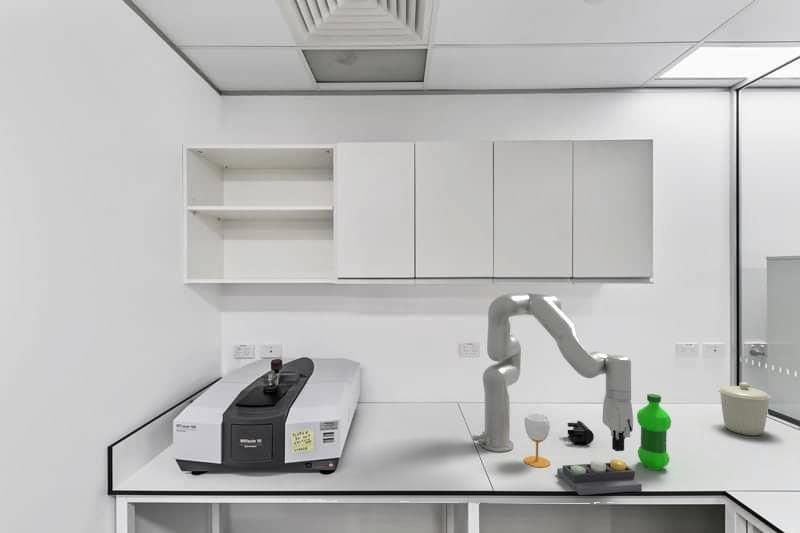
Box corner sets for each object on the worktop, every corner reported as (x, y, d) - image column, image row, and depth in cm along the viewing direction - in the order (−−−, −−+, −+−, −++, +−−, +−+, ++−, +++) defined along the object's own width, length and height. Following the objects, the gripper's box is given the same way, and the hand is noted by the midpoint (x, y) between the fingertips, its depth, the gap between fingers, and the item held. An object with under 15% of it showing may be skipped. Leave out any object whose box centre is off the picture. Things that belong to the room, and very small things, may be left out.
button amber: (615, 473, 147) (615, 466, 147) (607, 467, 152) (607, 459, 152) (628, 472, 148) (628, 465, 148) (619, 466, 153) (619, 459, 153)
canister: (762, 442, 184) (763, 390, 183) (711, 429, 198) (711, 380, 198) (776, 433, 194) (777, 383, 194) (727, 421, 209) (727, 375, 209)
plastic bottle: (653, 475, 154) (654, 401, 154) (629, 461, 165) (630, 392, 164) (677, 471, 157) (678, 398, 157) (652, 458, 167) (653, 390, 167)
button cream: (595, 475, 146) (595, 467, 146) (587, 468, 151) (587, 461, 151) (608, 474, 147) (608, 466, 147) (600, 467, 152) (600, 460, 152)
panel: (579, 495, 141) (579, 480, 141) (557, 474, 154) (557, 461, 154) (641, 490, 144) (641, 476, 144) (614, 470, 158) (614, 457, 158)
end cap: (594, 446, 179) (594, 429, 178) (575, 446, 179) (575, 428, 179) (584, 436, 188) (584, 420, 188) (567, 436, 189) (567, 420, 189)
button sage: (575, 479, 145) (575, 472, 145) (567, 473, 150) (567, 465, 150) (588, 479, 146) (588, 471, 146) (580, 472, 151) (580, 464, 151)
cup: (525, 455, 170) (525, 411, 170) (551, 459, 166) (551, 415, 166) (522, 465, 161) (522, 419, 161) (549, 469, 158) (549, 423, 158)
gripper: (594, 388, 157) (594, 442, 157) (622, 401, 142) (622, 460, 142) (614, 387, 158) (614, 440, 158) (644, 400, 143) (644, 458, 143)
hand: (618, 449), depth 150 cm, fingers closed
